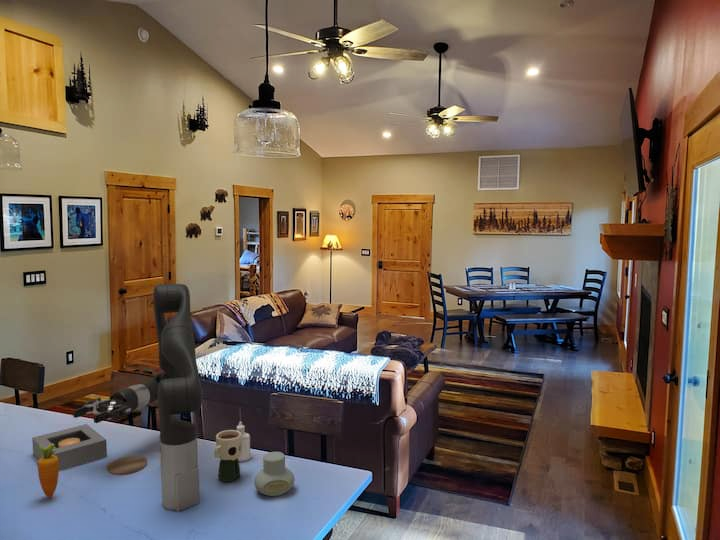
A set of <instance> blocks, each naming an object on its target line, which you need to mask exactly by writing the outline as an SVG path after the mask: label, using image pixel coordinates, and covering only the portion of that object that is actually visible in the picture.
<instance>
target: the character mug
mask: <svg viewBox="0 0 720 540" xmlns="http://www.w3.org/2000/svg"><path fill="white" fill-rule="evenodd" d="M242 443H243V438H242V435H241V433H240V432H239V431H237V429H236V430H235V429H226V430H222V431H219V432H218V433H217V434H216V436H215V447H214V458H215V459H219V464H218V466H219V467H218V474H217V478H218V479H220V480H222V481H224V482H233V481H236V480H237V477H238V478H240V477H241V467H240V462H239V460H238V458H239V457H240V455H241V453H242V446H241V445H242Z"/></svg>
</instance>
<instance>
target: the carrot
mask: <svg viewBox="0 0 720 540" xmlns="http://www.w3.org/2000/svg"><path fill="white" fill-rule="evenodd" d="M54 446H55V445H54V444H49V445H48V448H47V447H45V448H44V449H43V447H42V446H41V445H40V446H39V448H40V450H41V451H42V453H43V455H44V457H42V458H41V459H39V460H37V464H36V465H37V473H38V479H39V484H40V486H41V489H42V492H43V493H44V495H45V496H46V498H48V499H52V497H53V496H54V494H55V491H56V489H57V486H58V482H59V481H58V480H59V473H60V471H59V461H58V458H57V456H55V455H52V454H53V453H54V452H55V450H53V451H52V449H53V448H54ZM51 451H52V452H51ZM46 452H47V454H46Z"/></svg>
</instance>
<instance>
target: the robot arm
mask: <svg viewBox="0 0 720 540" xmlns="http://www.w3.org/2000/svg"><path fill="white" fill-rule="evenodd" d="M190 295H191V294H190V289H189V287H188V285H186V284H183V283H168V284H166V283H163V284H156V285H155V286H154V289H153V295H152V301H153V302H152V303H153V312H154V313H153V314H154V322H155V323H154V324H155V330H156V337H157V342H158V343H157V344H158V366H159V368H160V370H162V371H160V372H158V373H156V374H155V375H154V376H152V377H151V378H150V379H148V380H147V381H144V382H141V383H139V384H133V385H131V386H128V387H124V388H122V389H120V390H118V391H117V390H116V391H115V392H113V393H112V394H111V396H110V397H109V398H105V399H104V400H102V398H101V397H98V398H95V399H91V400H89V401H85V402H83V403H81V407H79V408H77V409H74V410H73V412H72V416H73V418H75V419H77V418H80V417H82V416H85V415H88V414H93V415H94V416H93V423H94V424H98V423H101V422H103V421H106V420H112V419H113V420H114V421H115V420H116V421H117V420H119V419H121V418H123V417H125V416H128V415H130V414H131V413H132V412H134V411H137V410H140V409H142V408H143V407H145V406H147V405H149V404H152V403H154V402H157V405H158V416H159V445H160V446H159V447H160V448H159V449H160V481H161V483H160V486H161V506H162V507H163V508H164V509H167V510H171V511H176V512H180V511H183V510H185V509H188V508H190V507H192V506H195V505H197V504H199V503H200V473H199V471H200V469H199V460H198V459H199V458H198V453H199V451H198V428H197V425H196V424H195V423H194V422H190V421H187V420H183V419H179V418H177V417H175V416H174V415H181V414H189V413H193V412H194V413H196V412H197V411H199V410H200V409H201V408H202V405H203V389H202V384H201V383H202V382H201V379H200V378H201V377H200V374H199V370H198V365H197V358H196V356H197V355H196V343H195V334H194V331H193V325H192V316H191V315H192V314H191V297H190ZM170 313H171V314H172V313H176V314H175V315H174V316H173V317H172V318H171V319H170V320H169V321H168V322H167V320H166V317H165V314H170ZM97 409H98V410H97Z"/></svg>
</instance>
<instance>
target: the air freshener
mask: <svg viewBox="0 0 720 540" xmlns="http://www.w3.org/2000/svg"><path fill="white" fill-rule="evenodd" d="M262 459H263V463H262V464H263V468H262V469H260V471H258V473H256V474H255V477H254V481H253V484H254V487H255V488H256V490H257V491H258V492H259V493H261V494H263V495H265V496H269V497H270V496H271V497H279V496H281V495H283V494H285V493H288V492H289V491H290V490H291V488H293V485H294V484H295V474H294V473H293V471H292V470H291V469H289V468H288V467H286V455H285V454H284V453H283V452H281V451H270V452H267V453H266V454H265V455H264V456H263V458H262Z"/></svg>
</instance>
